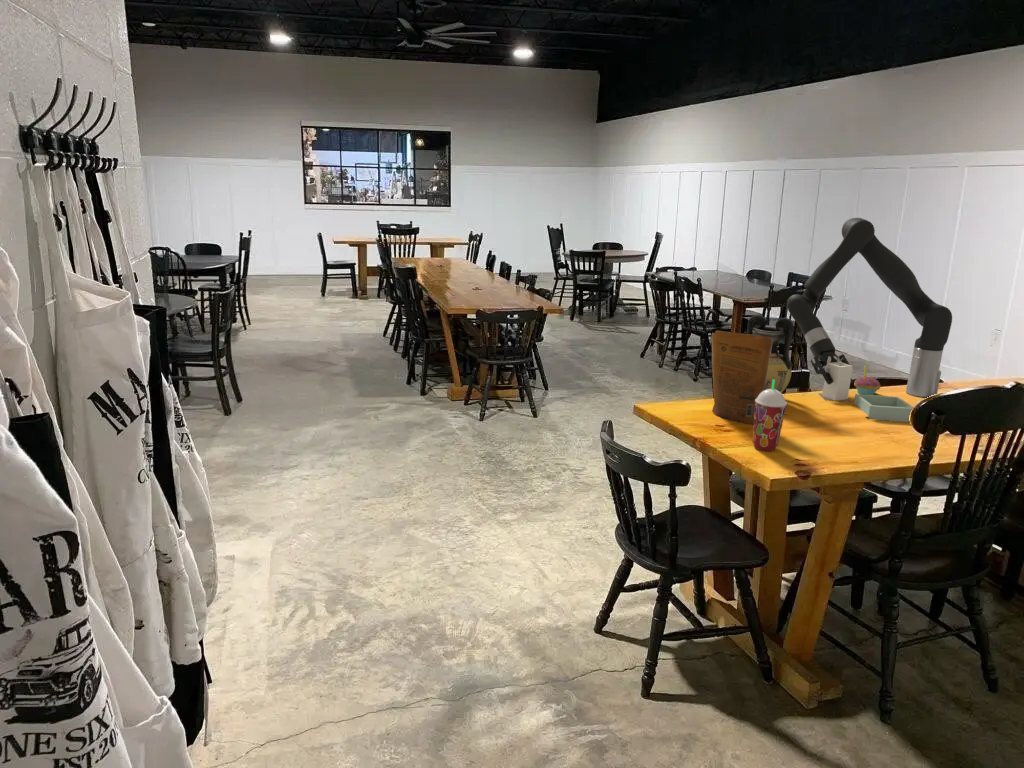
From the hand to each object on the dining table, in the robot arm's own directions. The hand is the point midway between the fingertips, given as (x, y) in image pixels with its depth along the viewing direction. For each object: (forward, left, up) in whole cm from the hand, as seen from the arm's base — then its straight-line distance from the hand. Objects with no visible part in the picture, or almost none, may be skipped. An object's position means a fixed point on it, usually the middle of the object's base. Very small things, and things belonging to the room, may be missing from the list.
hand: (840, 382), depth 252 cm
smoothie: (+36, +54, -7) cm, 65 cm away
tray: (-11, +12, -7) cm, 18 cm away
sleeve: (+1, -1, -6) cm, 6 cm away
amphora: (+27, +6, -7) cm, 29 cm away
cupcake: (-13, -10, -7) cm, 18 cm away
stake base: (+1, -1, -7) cm, 7 cm away
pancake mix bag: (+40, +28, -7) cm, 49 cm away
